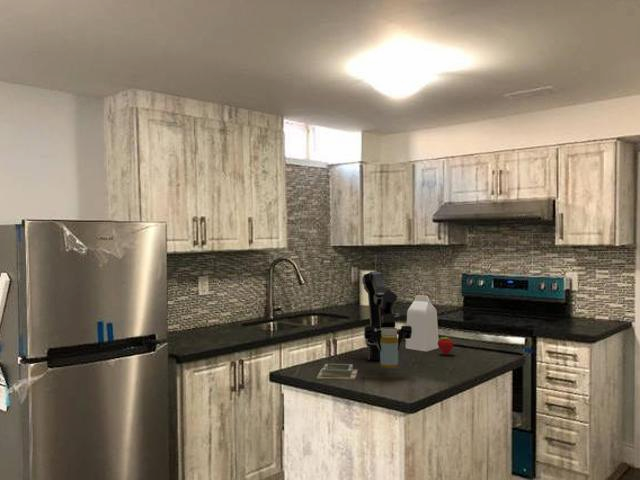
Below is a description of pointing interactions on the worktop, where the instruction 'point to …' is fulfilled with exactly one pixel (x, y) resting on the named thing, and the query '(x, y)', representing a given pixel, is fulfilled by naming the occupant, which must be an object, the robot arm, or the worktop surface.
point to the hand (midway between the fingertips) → (389, 350)
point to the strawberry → (445, 345)
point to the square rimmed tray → (338, 372)
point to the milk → (422, 325)
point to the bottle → (389, 347)
